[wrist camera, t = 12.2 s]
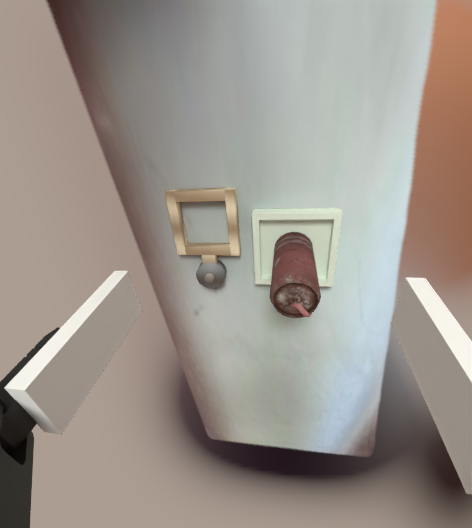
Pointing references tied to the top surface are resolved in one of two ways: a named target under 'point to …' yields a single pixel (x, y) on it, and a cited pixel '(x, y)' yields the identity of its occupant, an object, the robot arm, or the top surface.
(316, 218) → the tray
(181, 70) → the top surface
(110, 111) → the top surface
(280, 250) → the can
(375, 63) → the top surface
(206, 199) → the collar block
